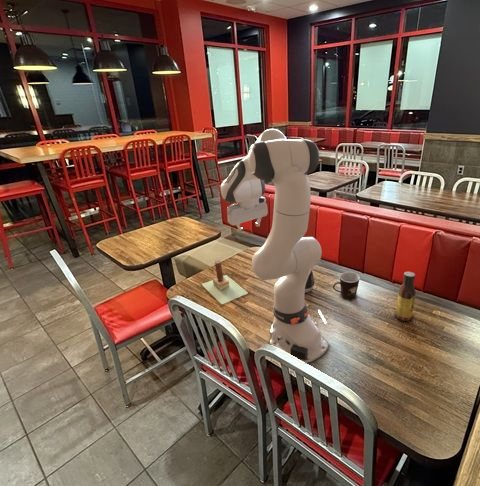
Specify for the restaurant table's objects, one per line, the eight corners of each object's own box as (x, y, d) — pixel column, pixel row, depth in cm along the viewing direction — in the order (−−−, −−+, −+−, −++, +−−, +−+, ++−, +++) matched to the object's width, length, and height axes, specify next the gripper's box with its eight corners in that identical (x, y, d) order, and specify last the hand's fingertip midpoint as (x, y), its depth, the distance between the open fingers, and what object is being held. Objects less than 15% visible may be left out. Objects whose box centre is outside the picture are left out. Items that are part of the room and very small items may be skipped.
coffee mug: (356, 290, 144) (358, 272, 140) (359, 301, 136) (361, 282, 132) (331, 290, 145) (332, 271, 141) (332, 301, 137) (333, 282, 133)
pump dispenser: (315, 295, 142) (315, 266, 135) (292, 296, 142) (292, 267, 136) (313, 283, 151) (313, 255, 145) (292, 284, 152) (291, 256, 145)
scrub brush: (229, 286, 151) (226, 262, 146) (220, 290, 148) (216, 266, 143) (222, 281, 156) (218, 257, 151) (213, 284, 153) (209, 261, 148)
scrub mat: (248, 294, 146) (248, 293, 145) (221, 305, 138) (221, 304, 138) (226, 275, 162) (226, 274, 162) (201, 285, 155) (201, 284, 154)
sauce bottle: (413, 322, 122) (420, 279, 114) (396, 321, 124) (402, 278, 115) (410, 312, 128) (417, 270, 120) (394, 311, 129) (400, 269, 121)
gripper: (230, 207, 134) (233, 236, 140) (268, 197, 145) (270, 225, 150) (223, 204, 139) (226, 232, 144) (261, 194, 149) (263, 221, 155)
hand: (249, 228), depth 147 cm, fingers open, 8 cm apart
